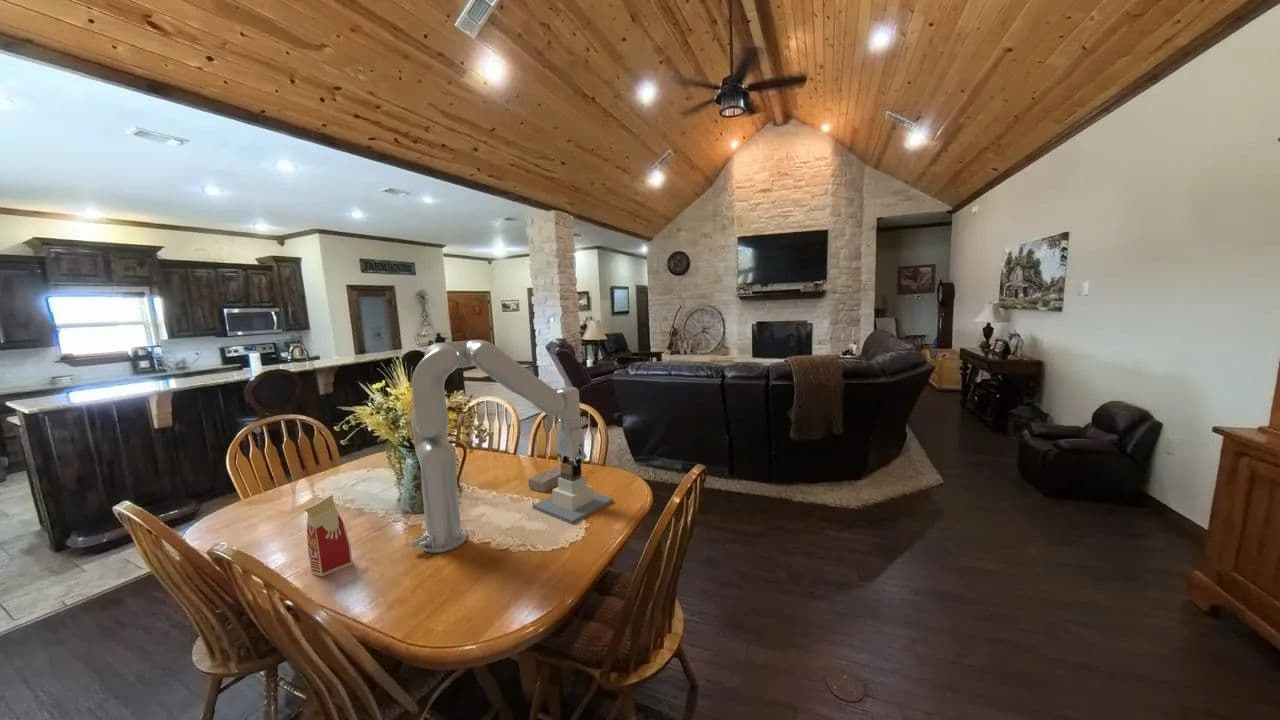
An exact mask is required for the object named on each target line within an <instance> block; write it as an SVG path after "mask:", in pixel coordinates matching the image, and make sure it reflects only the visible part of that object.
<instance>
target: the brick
mask: <svg viewBox="0 0 1280 720" xmlns="http://www.w3.org/2000/svg"><path fill="white" fill-rule="evenodd" d="M560 477H561V466H557V465H555V466H554V465H553V466H552V467H550V468H548V469H546V470H545V471H544V472H540V473H538V474H536V475H535V474H534V475H532V476H530V477H528V478H527V485H528V488H529V489H530V490H532V491H537V492H542V493H546V492H548V491H550V490H553V489H555V488H556V487H558V478H560Z"/></svg>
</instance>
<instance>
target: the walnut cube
mask: <svg viewBox="0 0 1280 720" xmlns="http://www.w3.org/2000/svg"><path fill="white" fill-rule="evenodd" d="M573 465H574V462H573V459H569V461H568V462H565V463H562V462H561V463H560V467H561V478H563V479H566V480H569V481H572V480H575V479H577V478H579V477H581V475H582V473H581V474H580V475H578V476H576V477H574V476H573Z"/></svg>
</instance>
